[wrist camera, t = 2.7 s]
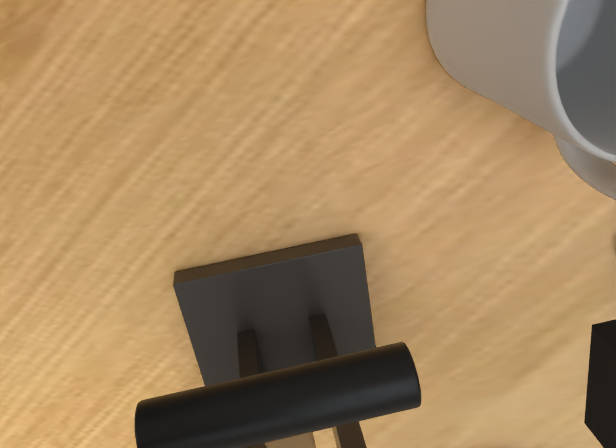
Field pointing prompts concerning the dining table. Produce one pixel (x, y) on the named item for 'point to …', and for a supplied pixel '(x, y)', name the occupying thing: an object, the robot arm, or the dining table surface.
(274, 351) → the bracket
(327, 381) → the lever
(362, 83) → the dining table surface
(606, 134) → the mug
